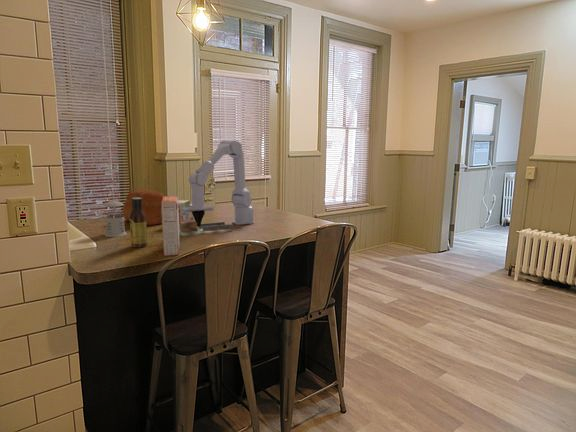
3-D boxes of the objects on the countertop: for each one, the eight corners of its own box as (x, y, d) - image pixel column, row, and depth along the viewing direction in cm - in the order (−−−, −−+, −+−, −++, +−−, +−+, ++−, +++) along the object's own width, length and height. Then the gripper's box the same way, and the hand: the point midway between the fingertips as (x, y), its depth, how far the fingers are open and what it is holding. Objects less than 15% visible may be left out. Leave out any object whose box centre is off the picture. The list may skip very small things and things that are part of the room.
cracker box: (164, 247, 167) (162, 196, 163) (180, 246, 168) (178, 195, 165) (162, 256, 154) (160, 201, 150) (179, 255, 155) (177, 200, 151)
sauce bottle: (133, 244, 170) (131, 196, 167) (149, 244, 171) (147, 196, 167) (129, 248, 164) (126, 198, 160) (145, 248, 164) (142, 199, 161)
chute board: (221, 226, 209) (221, 224, 209) (231, 231, 197) (231, 230, 197) (174, 230, 198) (174, 228, 197) (181, 236, 186) (181, 234, 185)
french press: (104, 237, 180) (101, 180, 176) (102, 232, 191) (99, 178, 186) (128, 235, 185) (125, 180, 180) (125, 230, 195) (122, 177, 191)
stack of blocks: (187, 219, 224) (186, 197, 222) (197, 220, 223) (197, 197, 221) (168, 227, 204) (167, 203, 201) (180, 228, 202) (179, 203, 200)
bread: (143, 227, 203) (142, 193, 200) (120, 221, 216) (118, 189, 213) (173, 222, 216) (172, 190, 213) (149, 217, 229) (148, 187, 226)
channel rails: (224, 225, 206) (223, 221, 206) (229, 228, 200) (229, 224, 199) (198, 227, 200) (198, 223, 200) (203, 231, 193) (203, 226, 193)
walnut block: (194, 228, 197) (194, 220, 197) (197, 230, 193) (197, 222, 193) (179, 230, 194) (179, 221, 193) (182, 232, 190) (182, 223, 189)
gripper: (184, 200, 186) (185, 229, 189) (215, 198, 193) (215, 226, 196) (180, 198, 192) (181, 226, 195) (210, 196, 199) (211, 223, 202)
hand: (198, 226), depth 196 cm, fingers closed
